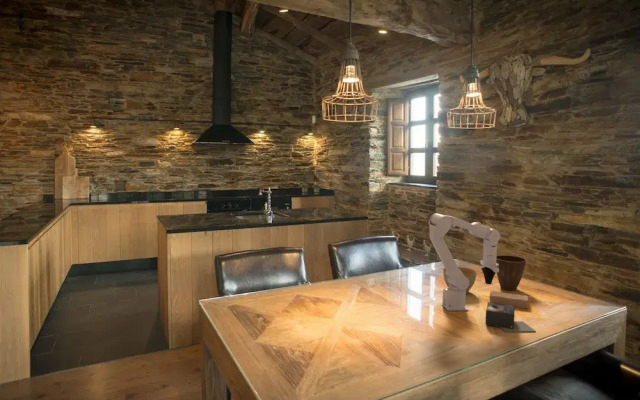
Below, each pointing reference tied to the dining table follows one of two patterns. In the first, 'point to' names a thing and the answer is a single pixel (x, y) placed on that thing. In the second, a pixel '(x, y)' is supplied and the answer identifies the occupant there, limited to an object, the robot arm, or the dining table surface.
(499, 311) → the small box
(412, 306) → the dining table surface
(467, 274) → the planter bowl
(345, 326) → the dining table surface
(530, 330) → the mat
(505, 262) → the plant pot
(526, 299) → the brick
